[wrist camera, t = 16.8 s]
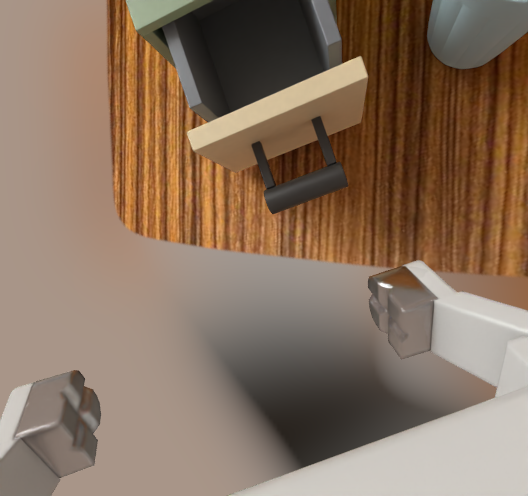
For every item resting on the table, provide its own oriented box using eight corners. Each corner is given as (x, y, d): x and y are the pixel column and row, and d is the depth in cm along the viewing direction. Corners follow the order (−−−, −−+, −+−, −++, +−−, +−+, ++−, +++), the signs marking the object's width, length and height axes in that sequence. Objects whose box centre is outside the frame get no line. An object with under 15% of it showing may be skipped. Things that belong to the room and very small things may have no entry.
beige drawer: (382, 181, 28) (398, 161, 20) (254, 228, 30) (219, 227, 22) (305, -35, 28) (289, -147, 20) (184, 26, 31) (123, -52, 22)
